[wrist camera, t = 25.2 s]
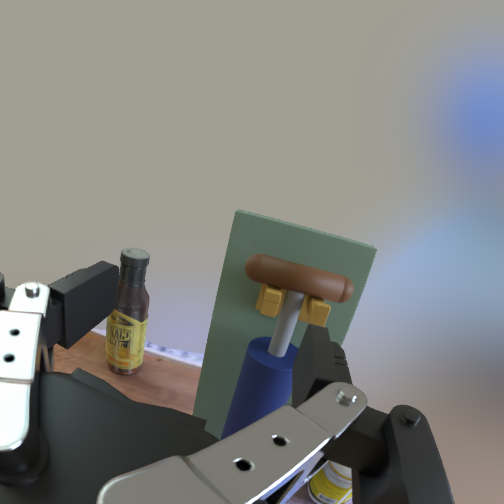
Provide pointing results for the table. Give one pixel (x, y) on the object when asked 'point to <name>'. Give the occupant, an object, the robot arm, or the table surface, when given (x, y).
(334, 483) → the pill bottle
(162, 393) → the table surface
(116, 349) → the sauce bottle
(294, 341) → the green panel
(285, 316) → the t-handle plunger
